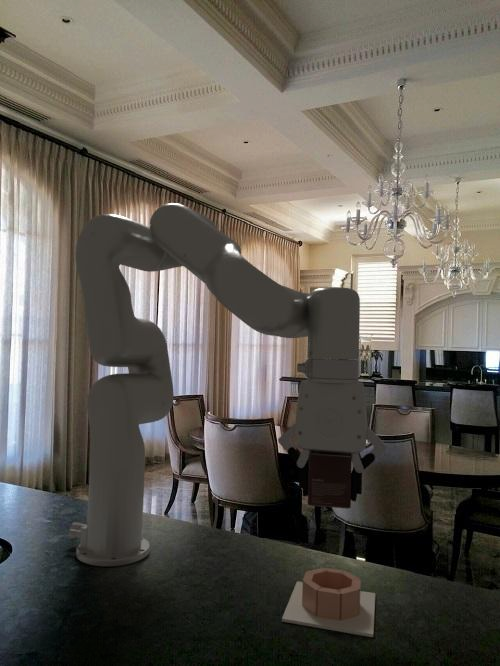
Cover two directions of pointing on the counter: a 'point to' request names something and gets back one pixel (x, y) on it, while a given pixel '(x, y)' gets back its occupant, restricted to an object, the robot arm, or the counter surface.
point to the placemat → (353, 625)
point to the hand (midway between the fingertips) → (330, 495)
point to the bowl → (331, 593)
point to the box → (329, 479)
